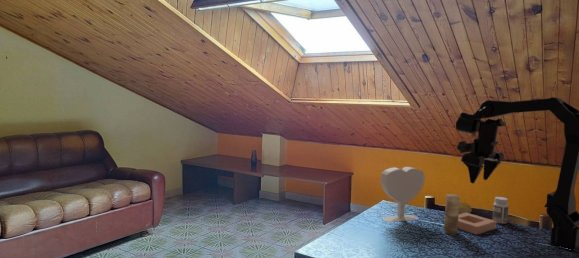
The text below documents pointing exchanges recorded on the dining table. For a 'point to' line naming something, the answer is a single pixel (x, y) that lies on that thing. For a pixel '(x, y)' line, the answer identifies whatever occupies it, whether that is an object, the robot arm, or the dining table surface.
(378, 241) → the dining table surface
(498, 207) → the pill bottle
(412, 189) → the heart sculpture
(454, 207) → the beech peg
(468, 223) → the socket collar
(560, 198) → the robot arm
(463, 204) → the bread roll
